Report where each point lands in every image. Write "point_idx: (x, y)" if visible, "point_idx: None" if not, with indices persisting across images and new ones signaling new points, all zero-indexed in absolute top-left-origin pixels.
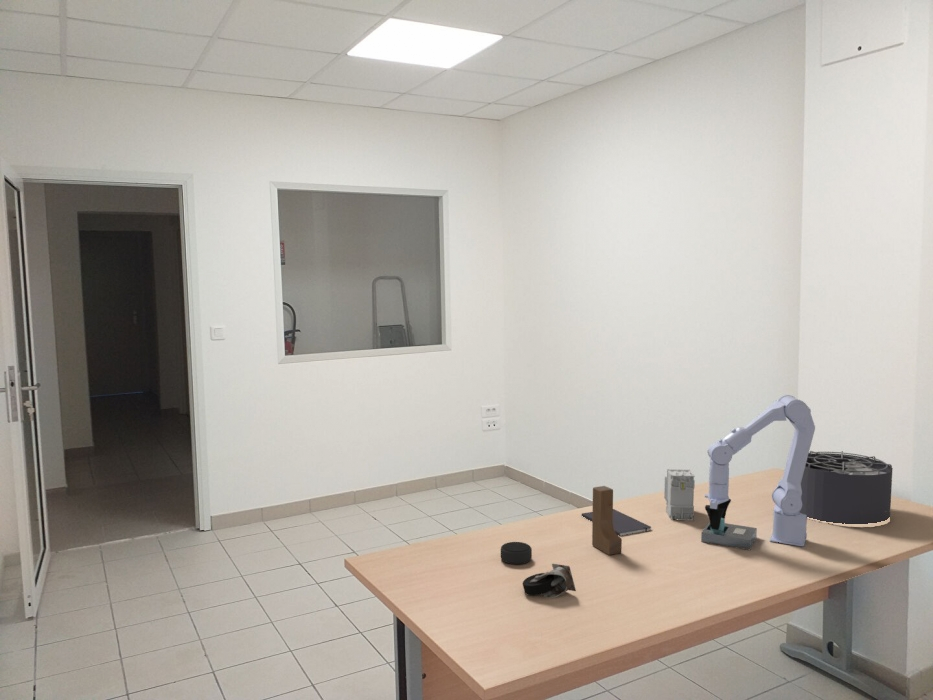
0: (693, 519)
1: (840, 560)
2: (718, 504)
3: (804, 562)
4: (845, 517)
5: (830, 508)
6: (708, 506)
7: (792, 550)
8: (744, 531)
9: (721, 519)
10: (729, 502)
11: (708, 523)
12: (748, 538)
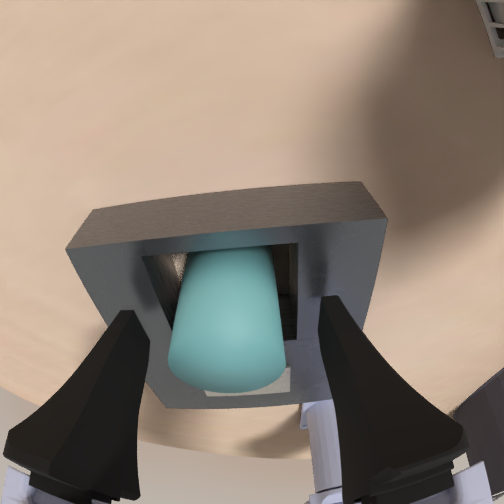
0: (498, 57)
1: (253, 450)
2: (358, 446)
3: (190, 433)
4: (465, 422)
5: (483, 423)
6: (34, 471)
7: (259, 420)
8: (253, 393)
9: (231, 382)
10: (343, 494)
11: (311, 226)
12: (179, 404)
